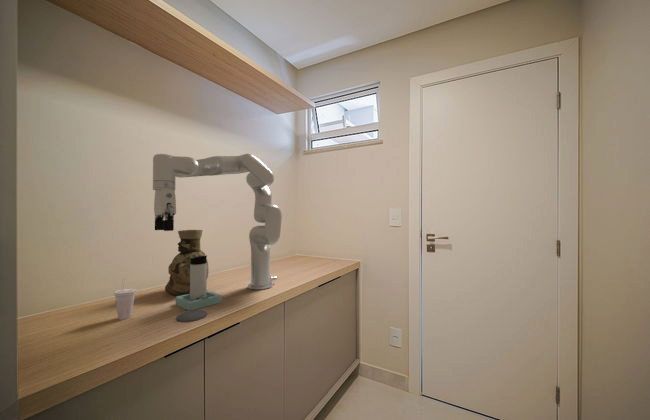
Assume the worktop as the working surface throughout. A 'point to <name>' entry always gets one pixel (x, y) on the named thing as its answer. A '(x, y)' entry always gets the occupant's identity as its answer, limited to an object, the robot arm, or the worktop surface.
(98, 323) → the worktop surface
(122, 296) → the smoothie
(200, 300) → the dock collar
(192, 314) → the pad
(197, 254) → the ceramic vessel
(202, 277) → the travel mug
